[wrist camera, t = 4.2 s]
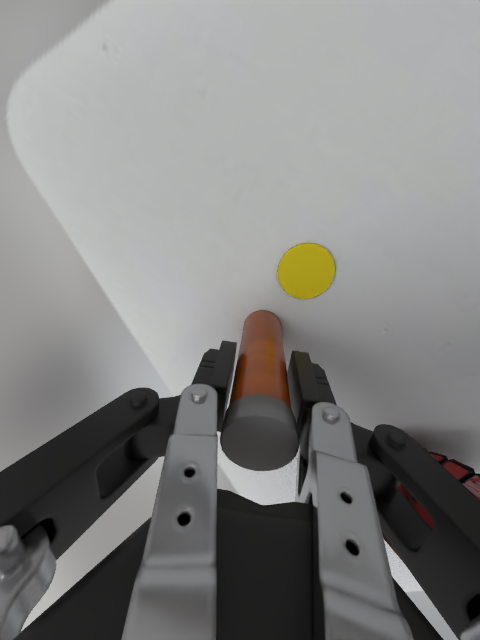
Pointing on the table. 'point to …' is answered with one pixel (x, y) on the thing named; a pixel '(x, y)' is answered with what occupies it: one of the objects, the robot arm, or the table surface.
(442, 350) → the table surface
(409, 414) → the table surface
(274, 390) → the orange and grey cylinder
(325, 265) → the disc
